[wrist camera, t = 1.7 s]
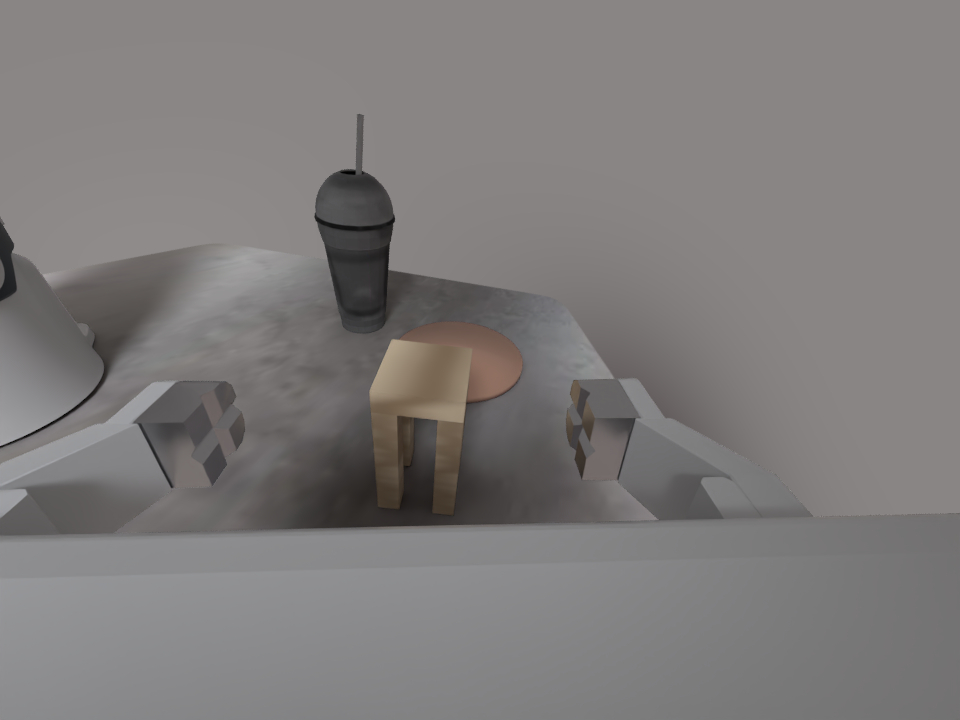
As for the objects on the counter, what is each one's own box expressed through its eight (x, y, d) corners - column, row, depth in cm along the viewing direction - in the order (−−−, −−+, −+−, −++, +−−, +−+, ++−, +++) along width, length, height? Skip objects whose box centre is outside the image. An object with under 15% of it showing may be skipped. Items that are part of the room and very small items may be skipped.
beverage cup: (354, 300, 49) (337, 104, 37) (408, 316, 47) (408, 116, 35) (314, 328, 43) (278, 107, 31) (374, 347, 41) (361, 121, 30)
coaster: (376, 393, 36) (376, 388, 35) (406, 320, 46) (406, 315, 46) (523, 410, 36) (524, 405, 36) (520, 333, 46) (521, 329, 46)
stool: (378, 507, 27) (369, 391, 21) (395, 449, 31) (392, 339, 25) (453, 515, 27) (465, 402, 21) (460, 457, 31) (472, 348, 25)
